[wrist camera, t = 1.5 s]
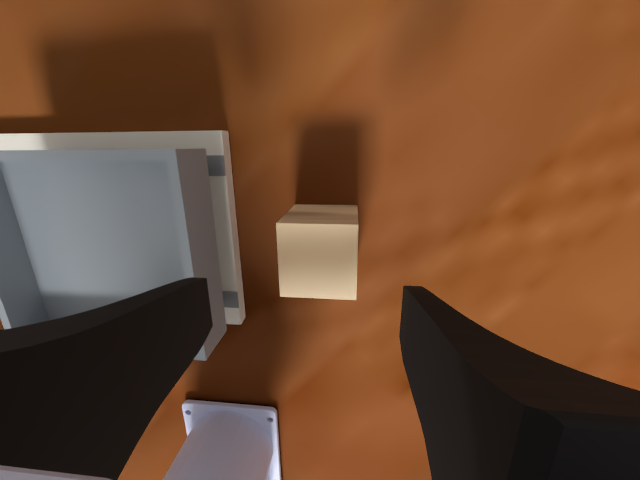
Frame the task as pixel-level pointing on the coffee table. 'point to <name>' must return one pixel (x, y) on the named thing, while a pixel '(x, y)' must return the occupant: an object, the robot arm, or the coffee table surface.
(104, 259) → the grey storage bin
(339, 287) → the maple block
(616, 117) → the coffee table surface
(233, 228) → the track board
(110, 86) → the coffee table surface
